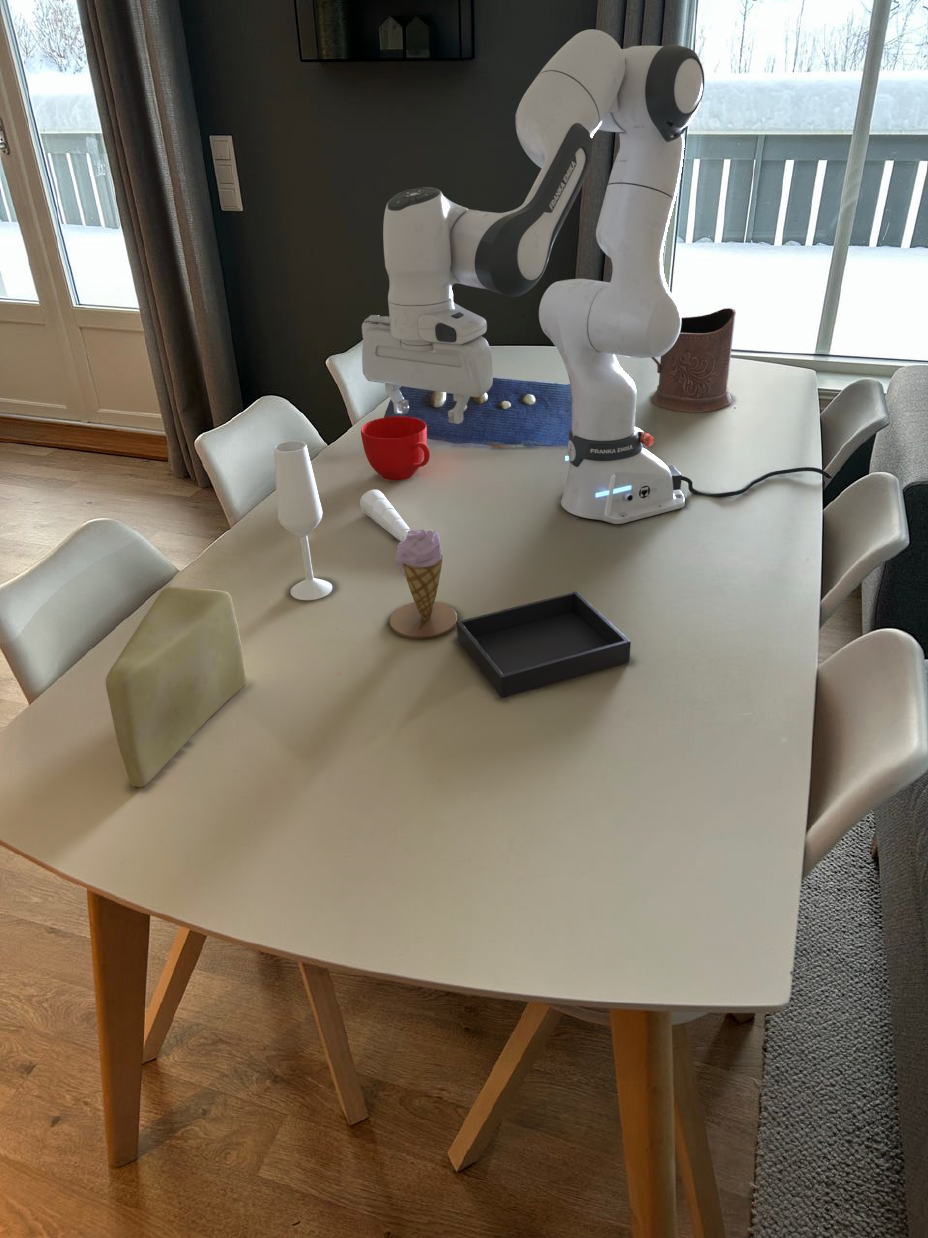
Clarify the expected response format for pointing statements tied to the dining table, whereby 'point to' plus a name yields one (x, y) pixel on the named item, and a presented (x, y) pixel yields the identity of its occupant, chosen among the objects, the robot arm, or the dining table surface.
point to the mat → (496, 414)
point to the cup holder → (697, 364)
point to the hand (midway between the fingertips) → (428, 417)
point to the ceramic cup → (396, 446)
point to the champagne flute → (299, 509)
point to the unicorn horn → (384, 514)
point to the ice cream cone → (421, 567)
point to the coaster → (423, 621)
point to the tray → (541, 643)
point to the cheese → (173, 676)
